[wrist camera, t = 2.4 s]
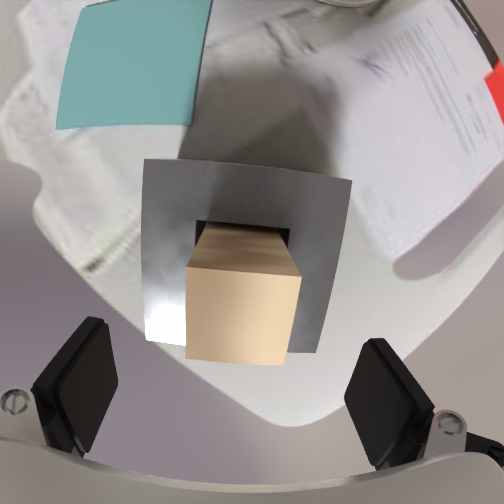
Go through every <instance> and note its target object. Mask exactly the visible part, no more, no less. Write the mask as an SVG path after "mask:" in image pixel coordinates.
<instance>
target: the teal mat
mask: <svg viewBox="0 0 504 504" xmlns="http://www.w3.org/2000/svg"><path fill="white" fill-rule="evenodd" d="M211 3H212V0H117V1H112V2H107V3H102V4H98V5H93V6H89V7H85V8H82V10H81V13H80V16H79V19H78V22H77V25H76V28H75V32H74V35H73V39H72V42H71V46H70V50H69V54H68V58H67V62H66V66H65V71H64V76H63V81H62V86H61V92H60V98H59V105H58V112H57V120H56V129H55V130H61V129H71V128H82V127H95V126H114V125H190V126H192V118H193V110H194V102H195V95H196V88H197V81H198V74H199V68H200V61H201V55H202V49H203V44H204V38H205V33H206V27H207V22H208V17H209V12H210V8H211Z"/></svg>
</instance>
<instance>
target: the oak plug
mask: <svg viewBox="0 0 504 504" xmlns="http://www.w3.org/2000/svg"><path fill="white" fill-rule="evenodd" d="M301 279H302V276H301V274H300V272H299V270H298V268H297V266H296V264H295V263H294V261H293V259H292V257H291V255H290V253H289V251H288V249H287V247H286V245H285V243H284V241H283V240H282V238H281V236H280V234H279V232H278V230H277V228H276V227H269V226H259V225H249V224H238V223H227V222H216V221H208V222H207V224H206V226H205V228H204V231H203V233H202V235H201V237H200V239H199V241H198V243H197V245H196V247H195V249H194V251H193V253H192V255H191V258H190V260H189V262H188V264H187V266H186V294H185V346H186V359H195V360H204V361H215V362H227V363H241V364H259V365H284V362H285V358H286V353H287V349H288V344H289V339H290V335H291V330H292V325H293V320H294V315H295V310H296V305H297V300H298V295H299V290H300V284H301Z"/></svg>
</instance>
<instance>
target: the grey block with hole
mask: <svg viewBox="0 0 504 504" xmlns="http://www.w3.org/2000/svg"><path fill="white" fill-rule="evenodd" d="M351 185H352V180H348V179H343V178H338V177H334V176H329V175H324V174H319V173H313V172H307V171H300V170H293V169H285V168H278V167H270V166H261V165H252V164H242V163H231V162H220V161H207V160H191V159H144V169H143V186H142V212H141V264H142V291H143V308H144V322H145V333H146V340H151V341H158V342H165V343H173V344H181V345H185V294H186V266H187V264H188V262H189V260H190V258H191V255H192V253H193V251H194V249H195V247H196V245H197V243H198V241H199V239H200V237H201V235H202V233H203V231H204V228H205V226H206V224H207V222H208V221H216V222H227V223H238V224H249V225H259V226H269V227H276V228H277V230H278V232H279V234H280V236H281V238H282V240H283V241H284V243H285V245H286V247H287V249H288V251H289V253H290V255H291V257H292V259H293V261H294V263H295V264H296V266H297V268H298V270H299V272H300V274H301V276H302V279H301V284H300V290H299V295H298V300H297V305H296V310H295V315H294V320H293V325H292V330H291V335H290V339H289V344H288V349H287V352H292V353H316V350H317V346H318V343H319V339H320V335H321V331H322V328H323V324H324V320H325V316H326V312H327V308H328V304H329V300H330V295H331V291H332V287H333V282H334V278H335V273H336V269H337V264H338V259H339V254H340V249H341V244H342V239H343V234H344V228H345V223H346V217H347V211H348V205H349V199H350V192H351Z"/></svg>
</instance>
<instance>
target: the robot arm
mask: <svg viewBox="0 0 504 504" xmlns="http://www.w3.org/2000/svg"><path fill="white" fill-rule="evenodd" d="M318 1H321V2H324V3H328V4H332V5H337V6H343V7H362V6H366V5H370V4H372V3H374V2H376V1H377V0H318ZM117 386H118V377H117V372H116V367H115V362H114V357H113V351H112V346H111V339H110V333H109V327H108V324H106V323H104V320H103V319H101V318H96V317H90V316H89V317H87V318H86V319H85V320H84V321H83V322H82V324H81V325H80V326H79V327H78V328H77V329H76V331H75V332H74V333H73V334H72V335H71V337H70V338H69V339H68V340H67V342H66V343H65V344H64V345H63V346H62V348H61V349H60V350H59V351H58V353H57V354H56V355H55V356H54V358H53V359H52V360H51V362H50V363H49V364H48V365H47V367H46V368H45V369H44V371H43V372H42V373H41V374H40V376H39V377H38V378H37V380H36V381H35V382H34V384H33V387H32V388H31V390H29V389H27V388H25V387H23V386H11V387H8V388H6V389H4V390H3V391H2V392H1V393H0V504H504V446H503V445H502V444H500V443H499V442H496V441H494V440H490V439H487V438H484V437H481V436H478V435H475V434H472V433H469V432H467V425H466V422H465V420H464V418H463V417H462V416H461V415H459V414H458V413H457V412H454V411H451V410H441V411H438V412H437V413H436V414H434V412H433V409H434V408H435V406H434V404H433V403H432V402H431V400H430V399H429V397H428V396H427V395H426V393H425V392H424V391H423V389H422V388H421V386H420V385H419V384H418V382H417V381H416V379H415V378H414V377H413V375H412V374H411V373H410V372H409V370H408V369H407V367H406V366H405V365H404V363H403V362H402V361H401V359H400V358H399V357H398V355H397V354H396V353H395V351H394V350H393V349H392V348H391V346H390V345H389V344H388V342H387V341H386V340H385V339H384V338H370V339H369V340H368V341H367V342H365V343H364V344H363V347H362V349H361V352H360V355H359V358H358V361H357V363H356V366H355V369H354V372H353V374H352V377H351V379H350V382H349V384H348V387H347V389H346V392H345V395H344V401H345V404H346V406H347V408H348V411H349V413H350V416H351V418H352V420H353V422H354V425H355V428H356V430H357V432H358V435H359V437H360V440H361V442H362V444H363V447H364V450H365V452H366V455H367V457H368V460H369V462H370V464H371V465H372V466H375V468H376V471H374V472H370V473H365V474H360V475H355V476H349V477H344V478H337V479H330V480H323V481H315V482H306V483H305V482H304V483H292V484H274V485H233V484H215V483H202V482H192V481H184V480H176V479H169V478H163V477H157V476H152V475H147V474H142V473H137V472H133V471H128V470H124V469H120V468H116V467H112V466H109V465H105V464H101V463H98V462H94V461H91V460H88V459H84V458H83V456H84V454H85V452H86V453H88V452H89V451H90V449H91V447H92V445H93V442H94V440H95V437H96V435H97V432H98V430H99V427H100V425H101V423H102V421H103V418H104V416H105V414H106V411H107V409H108V406H109V404H110V402H111V400H112V398H113V396H114V393H115V391H116V389H117Z"/></svg>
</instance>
